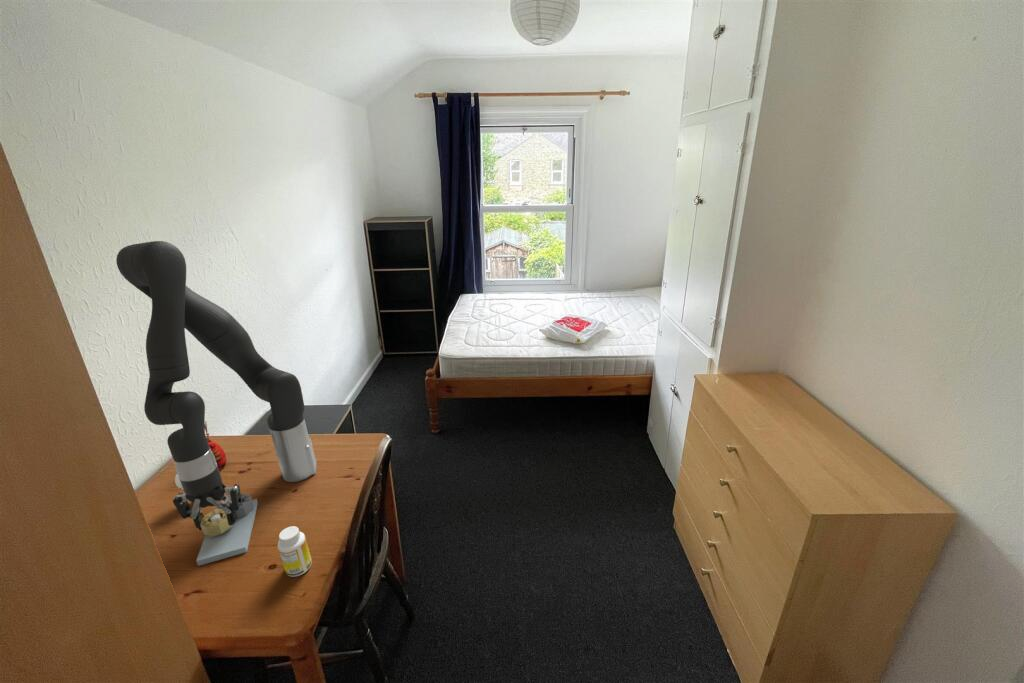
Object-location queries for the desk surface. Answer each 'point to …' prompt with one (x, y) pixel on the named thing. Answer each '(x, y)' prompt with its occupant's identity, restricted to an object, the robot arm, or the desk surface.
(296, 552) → the supplement bottle
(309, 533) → the desk surface
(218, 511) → the brass gear
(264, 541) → the desk surface
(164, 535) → the desk surface
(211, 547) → the gear board
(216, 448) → the red clay folk toy
